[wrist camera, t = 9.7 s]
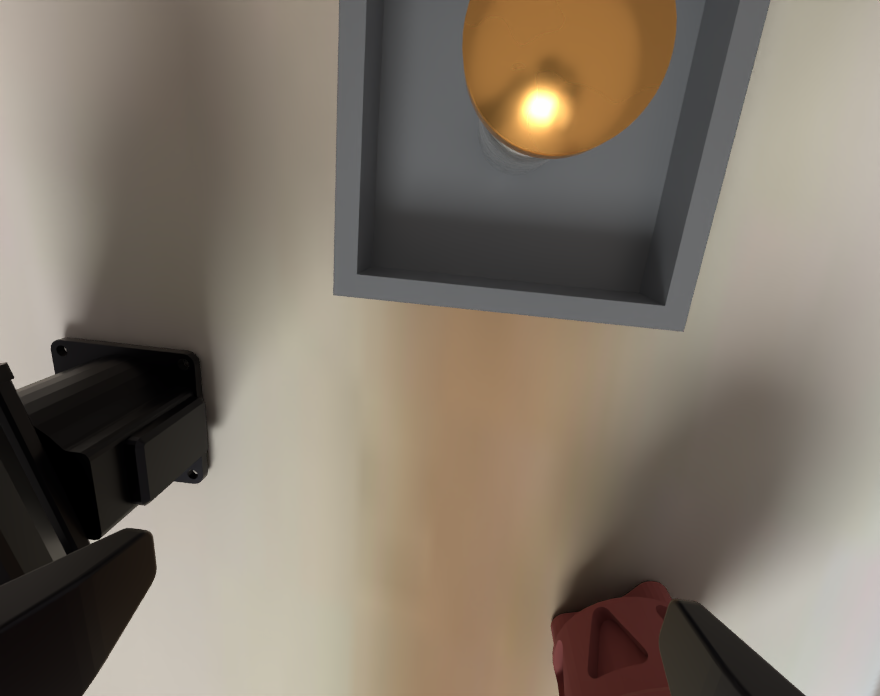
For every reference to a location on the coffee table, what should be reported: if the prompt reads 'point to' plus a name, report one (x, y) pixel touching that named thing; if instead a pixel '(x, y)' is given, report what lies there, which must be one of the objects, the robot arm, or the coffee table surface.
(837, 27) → the coffee table surface
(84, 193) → the coffee table surface
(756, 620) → the coffee table surface
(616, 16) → the lock pin
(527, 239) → the tray
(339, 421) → the coffee table surface
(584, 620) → the mechanical component
